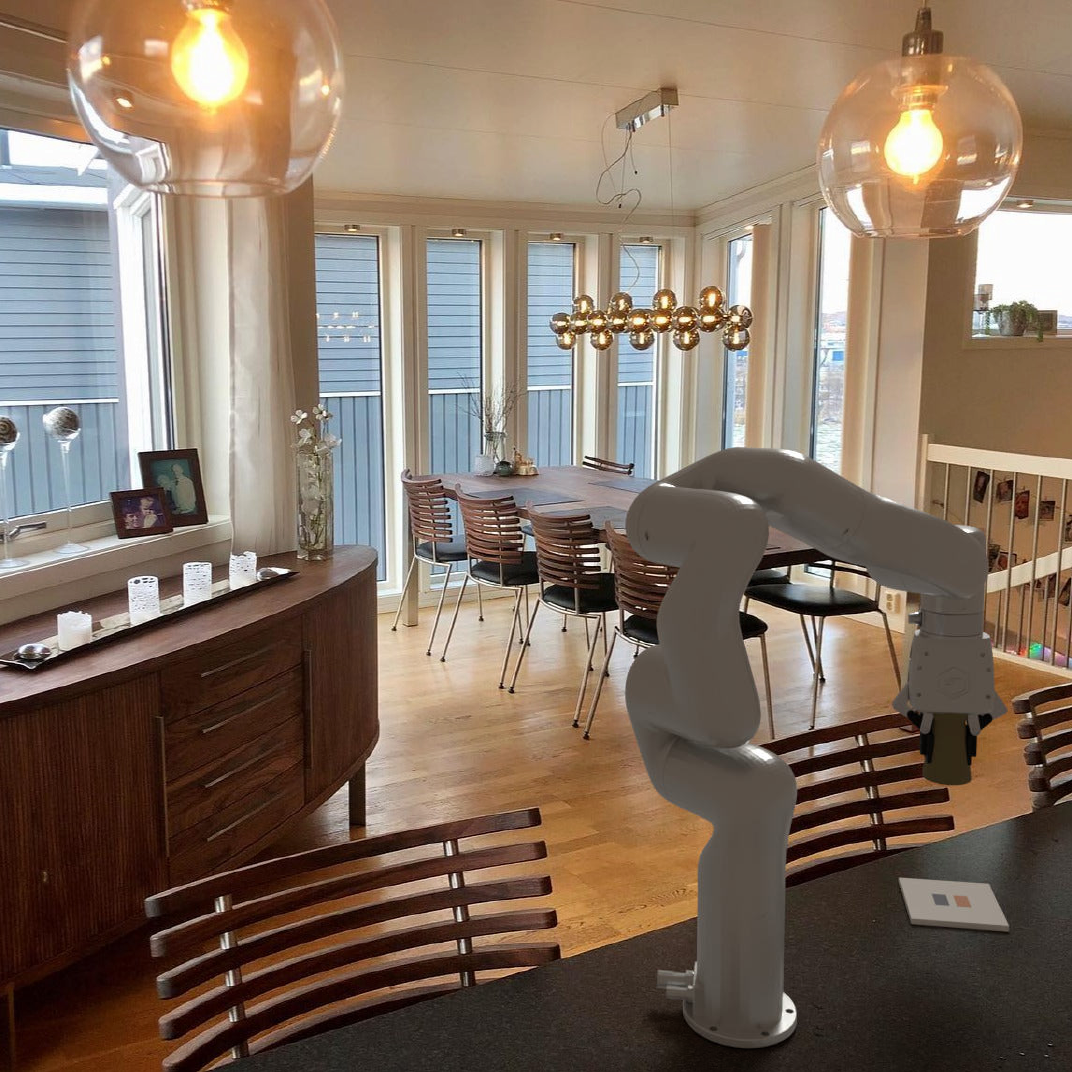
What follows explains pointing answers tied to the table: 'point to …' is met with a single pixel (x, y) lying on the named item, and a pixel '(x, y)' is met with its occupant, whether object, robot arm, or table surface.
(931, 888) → the tile
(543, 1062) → the table surface
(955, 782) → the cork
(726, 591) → the robot arm
